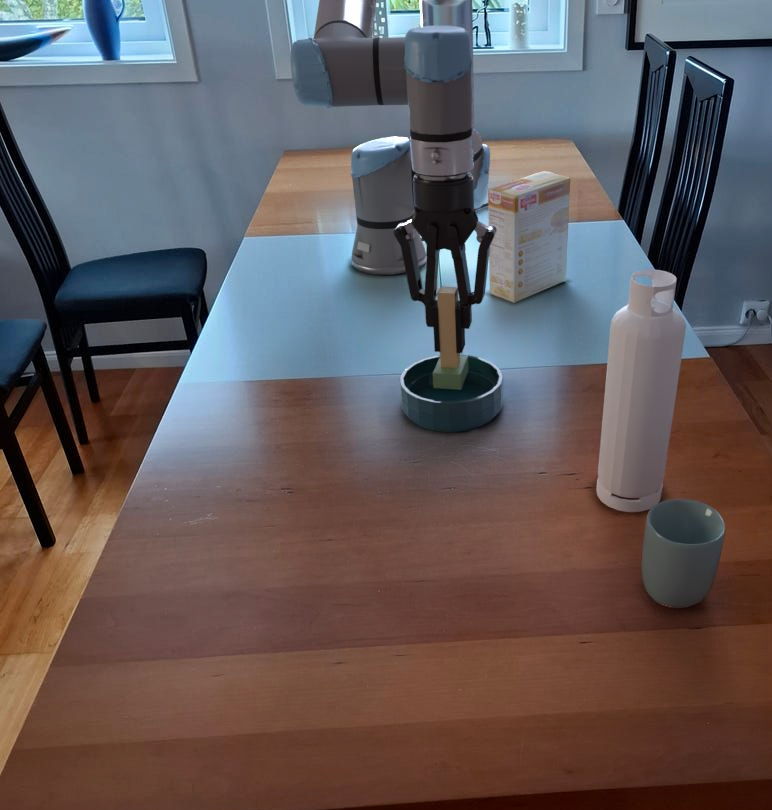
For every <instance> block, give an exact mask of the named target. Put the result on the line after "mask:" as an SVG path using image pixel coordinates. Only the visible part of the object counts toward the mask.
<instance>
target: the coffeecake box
mask: <svg viewBox="0 0 772 810" xmlns="http://www.w3.org/2000/svg"><path fill="white" fill-rule="evenodd" d="M570 192H571V177H569V176H566V175H561V174H559V173H558V174H557V173H554V172H552V171H547V170H543V171H539V172H536V173H533V174H530V175H527V176H524V177H520V178H517V179H514V180H511V181H508V182H504V183H500V184H498V185H495V186H492V187H488V189H487V201H488V202H487V203H488V206H487V208H488V210H487V211H488V227H489V226H495V227H496V230H497V231H496V234H495V236H494V238H493V240H492V242H491V244H490V252H489V261H488V269H489V271H488V273H489V275H488V276H489V277H488V279H489V294H490V295H492V296H495V297H498V298H500V299H504V300H506V301H508V302H510V303H513V304H515V303H517V302H519V301H522V300H524V299H526V298H529V297H530V296H533V295H535V294H538V293H540V292H542V291H545V290H548V289H550V288H552V287H555V286H557V285H558V284H561V283H563V282H566V281H567V261H568V260H567V259H568V239H569V237H568V236H569V219H570V218H569V216H570V215H569V214H570Z"/></svg>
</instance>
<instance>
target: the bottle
mask: <svg viewBox="0 0 772 810" xmlns="http://www.w3.org/2000/svg"><path fill="white" fill-rule="evenodd" d="M642 276H643V277H644V276H647V277H649V278H650V279H651V281H652V285H646V284H642V283H639V282H637V281H635V279H636V278H639V277H642ZM677 279H678V278H677V277H676V275H674V274H673V273H671V272H669V271H666V270H661V269H643V270H639V271H638V270H637V271H635V272H634V273H631V276H630V282H629V291H628V292H629V293H628V302H627V304H626V305H625V306H623V307H622V308H620V309H618V310H617V311H616V312H615V313H614V315H613V317H612V319H611V321H610V329H609V340H608V351H607V363H606V373H605V386H604V398H603V409H602V419H601V433H600V443H599V455H598V468H597V476H598V477H597V480H596V489H595V492H596V495H597V498H598V499H599V500H600V502H601V503H603V504H604V505H605V506H607V507H608V508H611V509H613V510H616V511H620V512H625V513H640V512H644V511H648V510H649V511H650V509H651V508H652V507H653V506H655V505H656V504H658V503H660V502H661V498H662V492H663V487H664V486H663V482H664V480H665V479H664V478H665V472H666V464H667V459H668V453H669V452H668V451H669V445H670V438H671V432H672V431H671V430H672V425H673V418H674V411H675V406H676V405H675V404H676V397H677V390H678V384H679V376H680V371H681V363H682V356H683V351H684V343H685V337H686V336H685V335H686V329H687V324H686V321H685V319H684V316H683V314H681V313H680V312H679V311H678V310H677V309H676V308H674V302H675V295H676V286H677ZM620 497H621V498H620ZM627 498H628V499H627Z"/></svg>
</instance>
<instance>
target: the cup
mask: <svg viewBox="0 0 772 810" xmlns="http://www.w3.org/2000/svg"><path fill="white" fill-rule="evenodd" d="M725 537H726V524H725V522H724V519H723V517H722V516H721V515H720V513H719V512H718V511H717V510H716V509H715V508H713V507H712V506H710V505H708V504H706V503H705V502H701V501H699V500H695V499H688V498H687V499H686V498H675V499H674V498H673V499H667V500H663V501H659V502H658V504H656V505H655V506H653V507H652V508H650V509H649V511H648V514H647V515H646V519H645V524H644V532H643V539H642V548H641V560H640V561H641V563H640V568H641V569H640V570H641V573H640V574H641V579H642V584H643V587H644V589H645V591H646V592H648V593H647V594H648V596H649V597H650V596H651V597H652V598H653V599H652V598H651V597H650V598H651V599H652V600H653V601H654V602H656V601H657V602H656V603H657V604H659V605H660V606H664V607H665V608H669V609H687V608H690V607H693V606H695V605H698V604H699V603H700V602H702V601H703V600H704V599H705V598H706V596H707V595H708V593H709V592H710V590H711V588H712V587H713V584H714V582H715V578H716V575H717V572H718V568H719V564H720V559H721V555H722V551H723V546H724V542H725ZM660 603H661V604H660ZM662 604H664V605H662ZM665 605H667V606H665ZM692 605H693V606H692ZM669 606H671V607H669ZM687 606H689V607H687Z"/></svg>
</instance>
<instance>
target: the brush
mask: <svg viewBox="0 0 772 810" xmlns="http://www.w3.org/2000/svg"><path fill="white" fill-rule="evenodd" d="M436 294H437V296H436V300H438V318H439V339H440V352H439V355H440V358H439V360H438V362H437V365H436V367H435V369H434V372H433V386H434V388H442V389H458V390H461V389H462V386H463V383H464V381H465V378H466V375H467V372H468V356H465V355H466V354H461V353H457V351H456V324H455V308H456V306H457V303H458V301H459V294H458V287H457V286H447V285H446V286H445V285H440V287H439V288H438V291H437V292H436Z"/></svg>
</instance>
